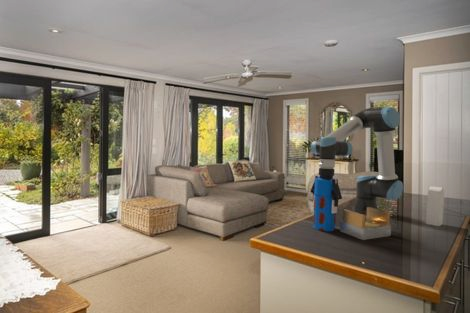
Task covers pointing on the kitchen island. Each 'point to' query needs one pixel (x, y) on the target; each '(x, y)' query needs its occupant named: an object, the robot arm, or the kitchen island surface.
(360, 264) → the kitchen island surface
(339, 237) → the kitchen island surface
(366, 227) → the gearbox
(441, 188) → the milk
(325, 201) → the thermos
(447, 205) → the kitchen island surface
